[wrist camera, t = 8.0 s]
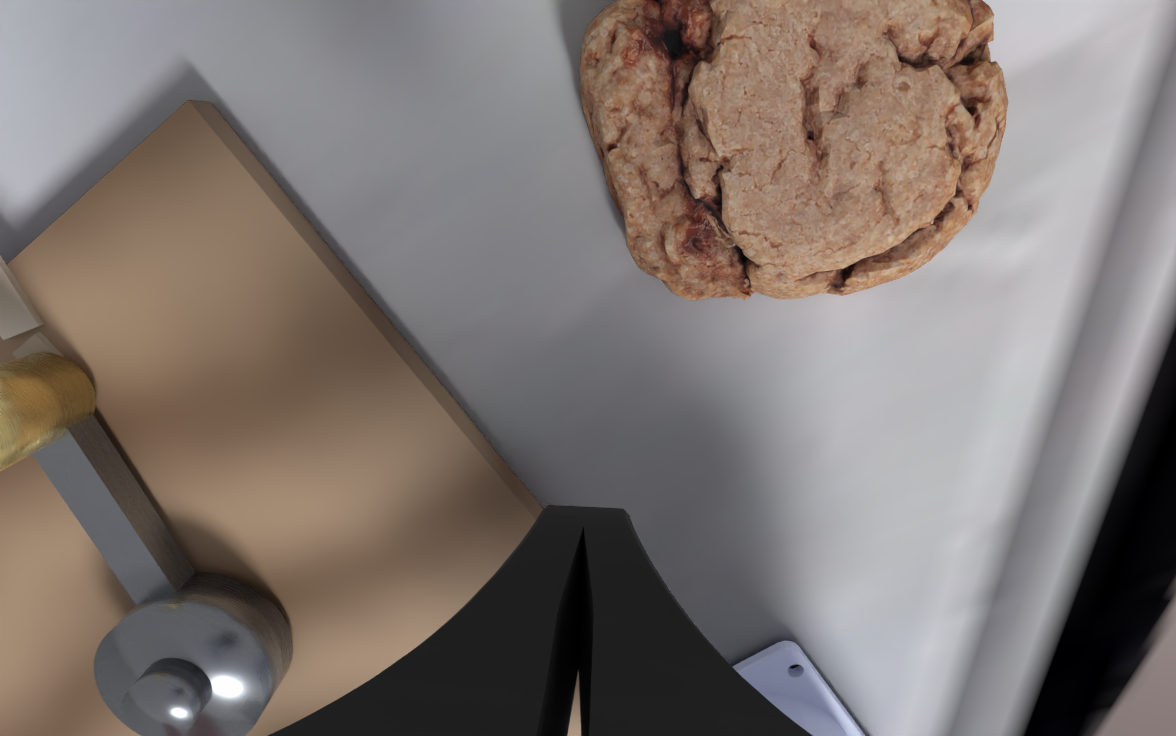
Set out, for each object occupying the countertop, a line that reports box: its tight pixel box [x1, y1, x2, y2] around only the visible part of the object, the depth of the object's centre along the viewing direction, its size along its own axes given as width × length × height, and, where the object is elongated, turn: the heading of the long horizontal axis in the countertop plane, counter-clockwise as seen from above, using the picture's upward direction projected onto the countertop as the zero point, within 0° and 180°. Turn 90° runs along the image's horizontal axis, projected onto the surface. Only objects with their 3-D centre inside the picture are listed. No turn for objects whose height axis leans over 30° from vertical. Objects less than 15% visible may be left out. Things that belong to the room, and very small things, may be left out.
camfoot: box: [0, 352, 293, 736], centre depth 19 cm, size 13×5×4 cm, turn 21°
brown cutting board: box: [0, 100, 581, 736], centre depth 23 cm, size 25×22×1 cm
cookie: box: [580, 0, 1008, 300], centre depth 17 cm, size 10×11×3 cm
